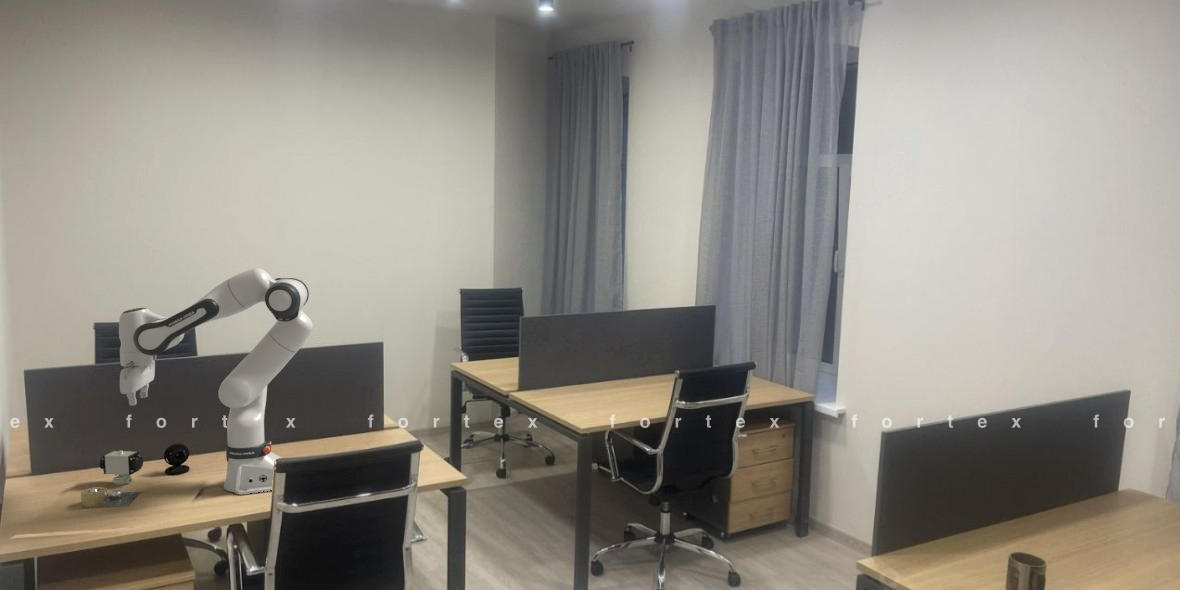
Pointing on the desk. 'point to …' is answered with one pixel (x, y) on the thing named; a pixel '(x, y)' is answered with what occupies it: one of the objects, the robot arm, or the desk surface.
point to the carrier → (116, 499)
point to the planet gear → (94, 497)
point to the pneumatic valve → (121, 465)
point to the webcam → (176, 459)
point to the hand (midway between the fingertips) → (138, 401)
